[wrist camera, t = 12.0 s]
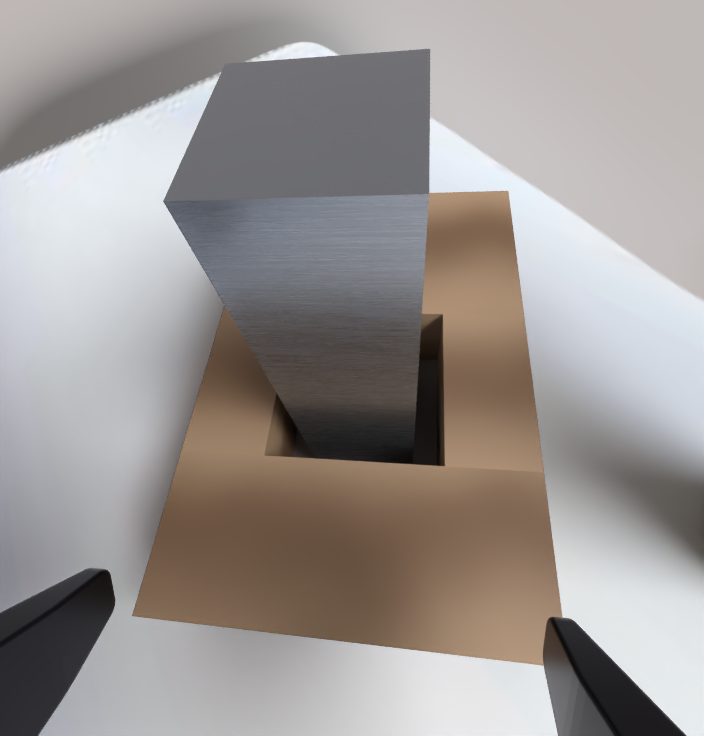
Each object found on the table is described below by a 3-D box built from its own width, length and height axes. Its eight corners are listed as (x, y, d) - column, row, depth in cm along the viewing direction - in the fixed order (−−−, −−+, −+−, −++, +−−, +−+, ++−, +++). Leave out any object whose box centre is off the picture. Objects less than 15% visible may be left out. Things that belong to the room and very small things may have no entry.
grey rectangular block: (412, 465, 17) (429, 193, 6) (316, 459, 18) (163, 201, 6) (414, 378, 19) (430, 49, 8) (327, 375, 20) (225, 63, 8)
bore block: (528, 653, 14) (568, 668, 11) (191, 614, 16) (131, 616, 12) (492, 254, 23) (508, 190, 19) (277, 255, 24) (256, 198, 21)
